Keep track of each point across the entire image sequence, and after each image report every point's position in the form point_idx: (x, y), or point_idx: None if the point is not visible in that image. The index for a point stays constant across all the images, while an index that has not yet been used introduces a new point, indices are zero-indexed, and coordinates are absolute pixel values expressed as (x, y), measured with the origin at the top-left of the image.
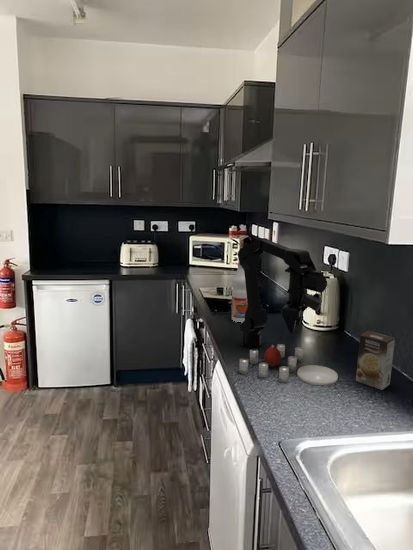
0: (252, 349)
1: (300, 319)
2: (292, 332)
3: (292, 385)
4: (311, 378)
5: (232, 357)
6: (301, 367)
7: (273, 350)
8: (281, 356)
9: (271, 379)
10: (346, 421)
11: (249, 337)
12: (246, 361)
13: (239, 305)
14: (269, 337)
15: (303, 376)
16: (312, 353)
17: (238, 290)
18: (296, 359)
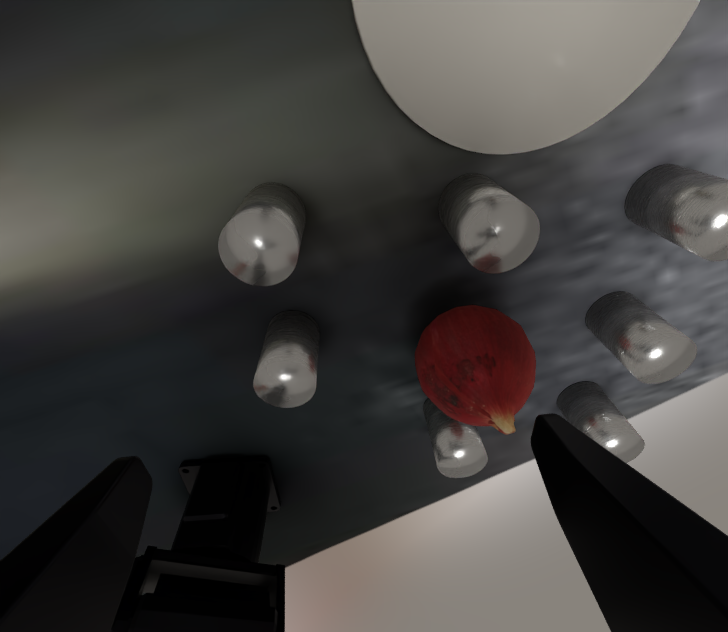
0: (447, 472)
1: (48, 560)
2: (566, 426)
3: (720, 117)
4: None
5: (427, 481)
6: (459, 141)
7: (521, 390)
8: (314, 327)
9: (640, 265)
10: None
11: (261, 533)
12: (638, 437)
13: None
14: (57, 465)
15: (637, 66)
16: (53, 161)
17: None
18: (506, 198)
